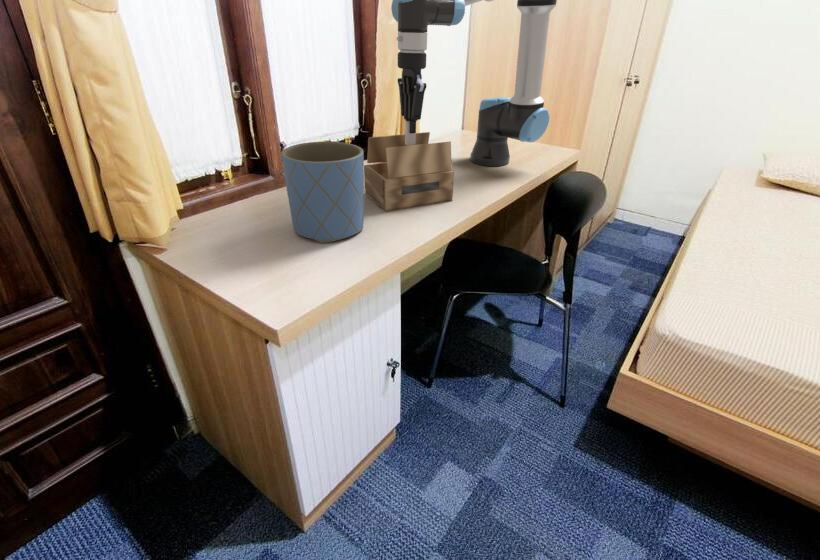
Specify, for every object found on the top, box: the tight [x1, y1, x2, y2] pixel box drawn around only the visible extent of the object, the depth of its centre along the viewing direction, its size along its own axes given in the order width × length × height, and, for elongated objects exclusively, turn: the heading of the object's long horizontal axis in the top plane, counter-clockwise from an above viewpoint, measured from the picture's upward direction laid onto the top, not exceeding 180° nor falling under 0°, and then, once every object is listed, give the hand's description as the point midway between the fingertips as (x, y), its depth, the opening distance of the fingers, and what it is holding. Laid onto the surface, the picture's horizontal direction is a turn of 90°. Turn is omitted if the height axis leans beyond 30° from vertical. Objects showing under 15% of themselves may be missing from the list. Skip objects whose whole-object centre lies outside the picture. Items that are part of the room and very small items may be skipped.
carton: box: [364, 162, 455, 212], centre depth 131 cm, size 23×16×9 cm
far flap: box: [366, 131, 431, 164], centre depth 132 cm, size 20×8×1 cm
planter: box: [280, 141, 365, 244], centre depth 107 cm, size 19×19×20 cm
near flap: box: [386, 141, 453, 178], centre depth 121 cm, size 20×8×1 cm
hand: (410, 144), depth 125 cm, fingers closed
